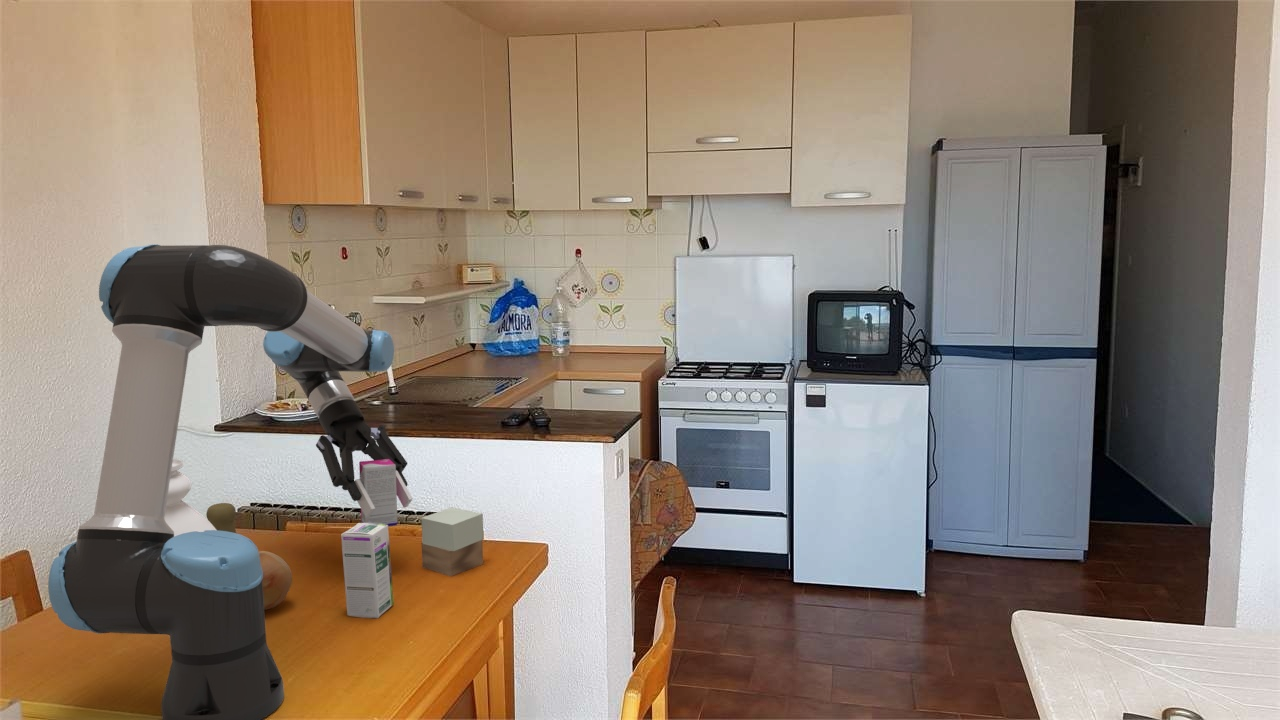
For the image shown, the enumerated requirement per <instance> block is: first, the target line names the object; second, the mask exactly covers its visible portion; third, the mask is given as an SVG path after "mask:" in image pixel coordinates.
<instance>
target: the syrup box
mask: <svg viewBox="0 0 1280 720" xmlns="http://www.w3.org/2000/svg"><path fill="white" fill-rule="evenodd" d="M340 538H341V550H342V562H343V564H342V565H343V576H344V578H343V579H344V589H345V591H344V592H345V602H346V604H345V605H346V615H347V616H348V617H356V618H367V619H379V618H380V616H382V615H383V614H384V613H385V612H386V611H388V610H389V609H390V608H391V607H392V606H393V605H394V595H393V593H394V591H393V579H392V578H393V577H392V564H391V562H392V561H391V552H390V551H391V550H390V548H391V547H390V534H389V527H388V525H387V524H381V523H362V522H358V523H356V525H354V526H353V527H351V528H349V529H347V530H346V531H344V532H342V533H341V534H340Z"/></svg>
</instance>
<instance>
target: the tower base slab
mask: <svg viewBox="0 0 1280 720" xmlns="http://www.w3.org/2000/svg"><path fill="white" fill-rule="evenodd" d="M420 545H421V561H422V563H421V564H422V568H423V569H427V570H430V571H432V572H435V573H438V574H442V575H444V576H447V577H452V576H453V577H454V576H456V575H458V574H462V573H463V572H466V571H469V570H471V569H474V568H477V567H480V566H482V565H484V551H483V549H484V548H483V540H480V541H478V542H475V543H473V544H470V545H468V546H466V547H463V548H461V549H458V550H456V551H450V550H446V549H442V548H438V547H434V546H430V545H425V544H423V542H421V544H420Z"/></svg>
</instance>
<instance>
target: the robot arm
mask: <svg viewBox="0 0 1280 720" xmlns="http://www.w3.org/2000/svg"><path fill="white" fill-rule="evenodd" d="M98 286H99V287H98V300H99V301H100V302H102V304H101V306H100V309H101V311H102V312H103V314H104V317H105V318H106V319H107V320H108V321H109V322H110V323H112V330H111V332H112V333H113V334H114V336H115V337H116V338H117V339H118V340H119V341H120V343H121V350H120V354H119V355H120V356H119V361H118V367H117V374H116V375H117V376H116V380H115V385H114V392H113V398H112V404H111V410H110V416H109V422H108V428H107V435H106V439H105V447H104V452H103V456H102V457H103V458H102V465H101V471H100V476H99V481H98V489H97V495H96V501H95V508H94V513H93V514H92V517H91V518H89V519H88V520H87V521H85V522H84V523H82V524H81V525H80V526H78V530H77V536H76V541H73V542H71V543H70V544H67V545H65V546H64V547H63V548H61V549H60V550H59V552H58V556H57V557H55V558H54V559H53V561H52V564H51V566H50V570H49V574H48V580H47V585H48V587H47V589H48V597H49V601H50V605H51V607H52V610H53V612H54V613H55V614H56V615H57V617H58V620H59V621H61V623H63V624H64V625H65V626H66V627H69V628H71V629H72V630H73V629H74V630H77V631H84V632H85V631H86V632H92V633H95V634H99V635H100V634H110V633H111V634H142V635H143V634H144V635H167V636H169V640H170V641H169V642H170V650H171V651H170V652H171V664H170V668H169V671H168V675H167V679H166V682H165V687H164V691H163V693H162V697H161V698H162V699H161V702H160V703H161V704H160V707H161V708H160V710H161V719H162V720H263V719H265V718H266V717H268V716H269V715H271V714H272V713H274V712H275V711H276V710H277V709H278V708H279V707H280V706H281V704H282V703H283V701H284V699H285V690H284V680H283V676H282V674H281V672H280V670H279V667H278V666H277V663H276V661H275V659H274V656H273V655H272V652H271V650H270V648H269V646H268V642H267V634H266V616H265V610H264V599H263V583H262V579H263V570H262V567H261V562H260V557H259V551H260V550H259V548H258V546H257V545H256V544H255V543H254V542H253V540H251V539H250V538H249V537H247V536H244V535H242V534H241V533H237V532H236V533H233V532H227V531H218V530H205V531H204V532H197V531H194V532H188V533H183V534H180V535H177V536H175V537H174V531H173V530H172V529H171V528H170V527H169V525H168V524H167V523H166V522H165V519H164V517H165V510H166V503H167V496H168V490H169V483H170V476H171V469H172V463H173V459H174V455H175V449H176V442H177V441H176V440H177V435H178V428H179V422H180V415H181V407H182V401H183V393H184V387H185V380H186V374H187V367H188V359H189V354H190V353H191V352H192V351H193V350H195V349H196V348H197V347H199V346H200V345H202V343H203V337H204V331H205V327H219V326H220V327H223V326H228V327H229V326H243V327H244V326H245V327H246V326H247V327H257V328H259V329H261V330H262V331H266V333H265V335H264V338H263V341H262V342H263V343H262V345H263V350H264V353H265V354H266V356H267V357H269V359H270V360H272V362H273V364H275V365H276V366H278V367H279V368H281V369H282V370H283V371H284V372H286V373H287V374H288V375H289V376H290V377H291V378H292V379H294V380H295V381H296V382H297V383H298V385H299V386H300V388H301V389H302V390H303V392H304V394H305V396H306V399H307V400H308V402H309V404H310V406H311V408H312V409H313V411H314V413H315V415H316V416H317V418H318V422H319V423H320V425H321V427H322V429H323V431H324V433H325V434H326V435H327V436H325V435H320V436H319V439H318V440H317V441H316V444H315V446H316V448H317V449H318V450H319V452H320V453H321V455H322V458H323V461H324V464H325V466H326V468H327V471H328V474H329V477H330V480H331V483H332V485H333V487H335V488H339V486H340V487H341V489H342V490H343V491H347V492H348V494H349V495H350V497H351V499H352V500H353V501H354V502H356V501H357V503H358V505H359V507H360V510H361V509H362V511H363V513H364V515H365V517H370V515H371V514H372V512H373V511H374V509H375V507H374V505H373V503H372V501H371V499H370V497H369V496H368V494H367V492H366V490H365V488H364V486H363V484H362V482H361V481H360V478H357V479H355V468H354V457H353V453H354V452H356V451H357V452H362V453H363V454H364V455H367V456H368V457H369V458H370V459H371V460H382V459H390V460H391V461H392V462H393V463H394V464H395V465H396V490H397V499H398V500H399V502H400V503H401V505H402V507H403V508H404V509H405V508H407V507H408V506H409V505H410V504H411V502H412V501H413V496H412V494H411V493H410V491H409V489H408V487H407V486H408V481H407V479H406V477H405V475H404V474H403V472H404V470H405V469H406V467H407V466H408V462H407V460H406V458H405V457H404V456H403V455H402V453H401V452H400V450H399V449H398V448H397V446H396V445H395V443H394V442H393V440H391V438H390V437H389V435H388V433H387V430H386V427H385V426H384V425H383V424H379V425H378V427H371V426H370V425H369V424H367V423H366V422H365V418H364V414H363V413H362V411H361V409H360V407H359V405H358V403H357V402H356V401H355V397H354V395H353V394H352V392H351V390H350V389H349V386H348V385H347V383H346V382H345V380H344V378H343V377H342V375H341V373H340V372H351V373H352V372H359V373H361V372H362V373H363V372H364V373H367V372H368V373H373V372H375V373H376V372H386V371H387V370H389V369H390V367H392V365H393V361H394V355H395V354H394V353H395V346H394V341H393V338H392V336H391V334H390V333H389V332H388V331H385V330H377V329H371V330H366V329H364V328H363V327H361V326H360V325H358V324H357V323H355V322H354V321H352V320H351V319H349V318H348V317H346V316H345V315H344V314H342V313H340V312H339V311H337V310H336V309H334V308H333V307H332V306H330V305H329V304H327V303H326V302H324V301H323V300H321V299H320V298H318V297H317V296H315V295H314V294H312V292H310V291H308V289H307V286H306V284H305V283H304V281H303V279H301V277H299V276H298V275H296V274H295V273H294V272H292V271H291V270H289V269H288V268H286V267H284V266H283V265H281V264H279V263H277V262H275V261H273V260H272V259H269V258H267V257H265V256H262V255H261V254H258V253H255V252H252V251H250V250H247V249H244V248H241V247H236V246H232V245H226V244H225V245H224V244H210V245H208V244H207V245H203V244H201V245H198V244H197V245H196V244H195V245H185V244H184V245H176V244H175V245H160V244H147V245H143V246H133V247H127V248H125V249H122V250H121V251H120V252H117V253H116V254H115V255H113V256H112V258H111V259H109V261H108V262H107V264H106V265H105V267H104V269H103V271H102V274H101V278H100V281H99V285H98ZM333 445H334V446H335V447H337V448H338V449H339V458H340V461H341V465H340V461H339V459H338V456H337V453H336V451H335V448H334V446H333Z"/></svg>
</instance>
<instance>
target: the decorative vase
mask: <svg viewBox="0 0 1280 720" xmlns="http://www.w3.org/2000/svg"><path fill="white" fill-rule="evenodd" d="M183 467H184V461H183V460H181V459H179V458H173V463H172V469H171V476H170V483H169V490H168V496H167V503H166V510H165V517H164V519H165V522H166V523H167V524H168V525H169V527H170V528H171V529H172V530H173V531H174V537H175V536H177V535H180V534H183V533H188V532H194V531H197V532H204V531H205V530H216V529H215V527H214V526H213V525H212V524H211V523H210V522H209V521H208V519H207V517H205V516H204V515H203V514H202V513H200V512H199V511H198V510H196V509H195V508H194V507H192V506H191V505H189V504H188V503H186V502H185V501H183V499H184V498H185V497H186V496H187V495H188V493H189V492H190V491H191V488H192V482H191V479H190V478H189V477H188V476H187V475H185V474H184V473H182V472H180V471H179V470H180V469H182V468H183Z"/></svg>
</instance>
